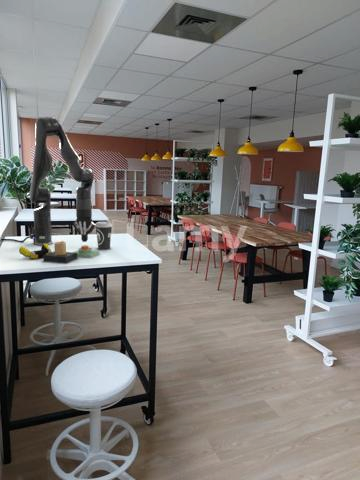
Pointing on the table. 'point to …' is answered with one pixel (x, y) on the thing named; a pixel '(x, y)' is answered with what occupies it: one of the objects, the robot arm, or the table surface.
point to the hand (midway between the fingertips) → (84, 241)
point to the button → (84, 247)
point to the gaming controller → (35, 252)
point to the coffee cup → (103, 235)
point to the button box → (86, 253)
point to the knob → (60, 248)
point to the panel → (60, 257)
